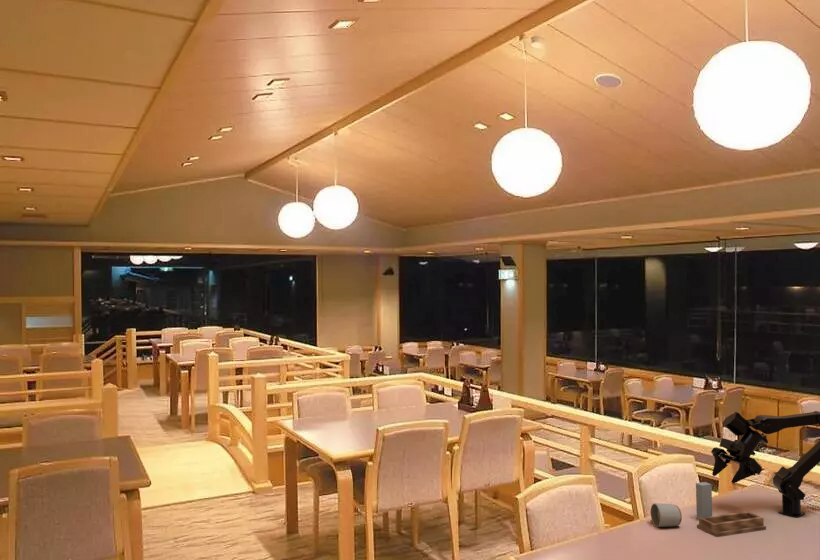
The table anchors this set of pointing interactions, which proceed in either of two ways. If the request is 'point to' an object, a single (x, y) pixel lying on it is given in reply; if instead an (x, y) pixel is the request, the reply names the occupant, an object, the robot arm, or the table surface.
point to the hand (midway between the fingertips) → (722, 478)
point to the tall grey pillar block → (703, 499)
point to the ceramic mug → (665, 515)
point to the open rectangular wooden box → (731, 524)
